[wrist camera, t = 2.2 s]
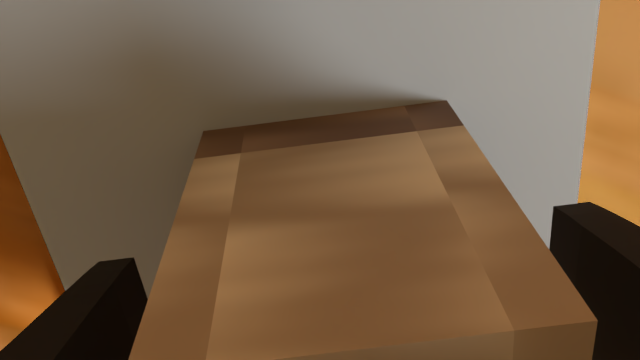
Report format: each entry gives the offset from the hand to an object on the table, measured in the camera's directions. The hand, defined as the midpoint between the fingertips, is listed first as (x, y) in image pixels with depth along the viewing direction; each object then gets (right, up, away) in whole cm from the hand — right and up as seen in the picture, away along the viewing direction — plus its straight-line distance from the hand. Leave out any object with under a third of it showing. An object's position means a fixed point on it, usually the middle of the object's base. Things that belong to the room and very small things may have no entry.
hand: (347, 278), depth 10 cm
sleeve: (0, +1, +2) cm, 2 cm away
